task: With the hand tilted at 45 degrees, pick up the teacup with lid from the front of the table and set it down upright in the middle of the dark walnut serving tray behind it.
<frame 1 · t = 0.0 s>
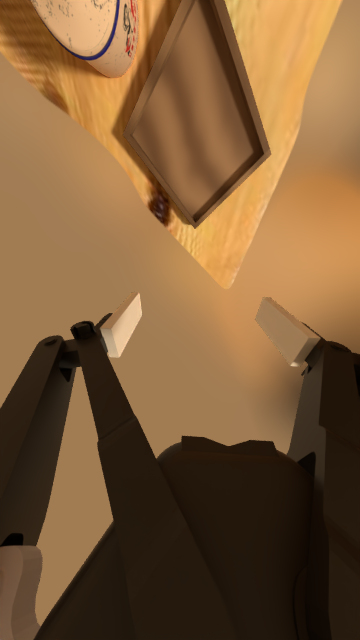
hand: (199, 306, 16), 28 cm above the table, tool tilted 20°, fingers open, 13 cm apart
walnut tray: (197, 144, 24), on the table
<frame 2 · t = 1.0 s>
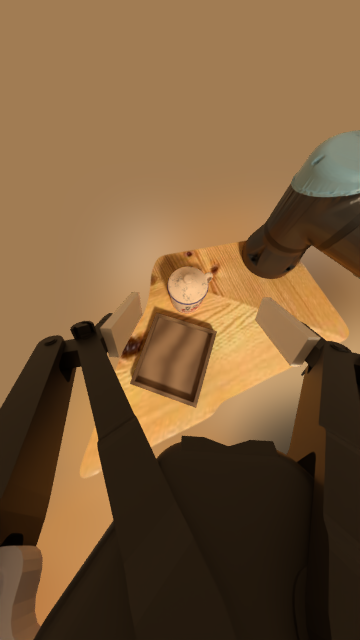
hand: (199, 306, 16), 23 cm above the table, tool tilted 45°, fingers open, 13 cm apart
teacup with lid: (190, 296, 40), on the table
walnut tray: (175, 356, 37), on the table
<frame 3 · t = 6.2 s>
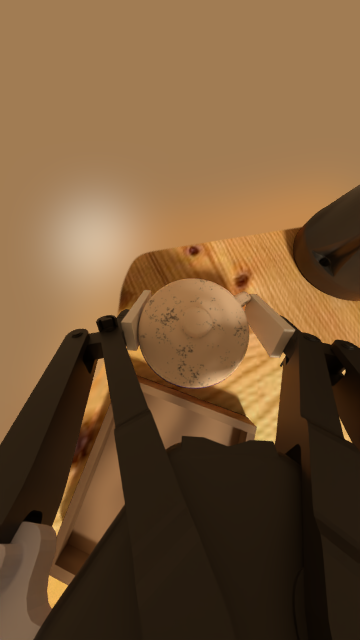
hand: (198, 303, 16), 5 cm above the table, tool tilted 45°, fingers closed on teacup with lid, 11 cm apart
teacup with lid: (196, 333, 20), on the table, touching gripper
walnut tray: (161, 472, 17), on the table
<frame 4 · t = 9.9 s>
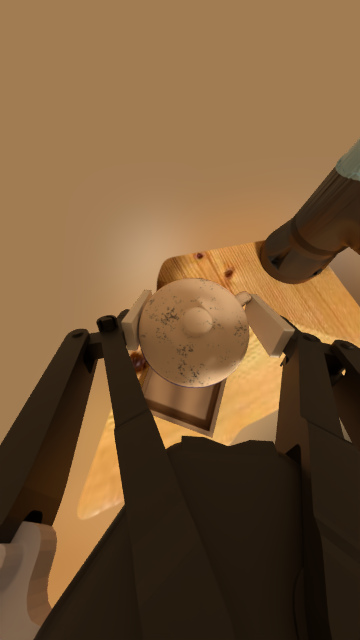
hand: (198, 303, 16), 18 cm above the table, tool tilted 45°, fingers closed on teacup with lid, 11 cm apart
teacup with lid: (196, 333, 20), point 13 cm above the table, touching gripper
walnut tray: (186, 374, 32), on the table
when the fingers open (7 cm above the table, at t = 13.5 s): teacup with lid drops 1 cm, resting on walnut tray.
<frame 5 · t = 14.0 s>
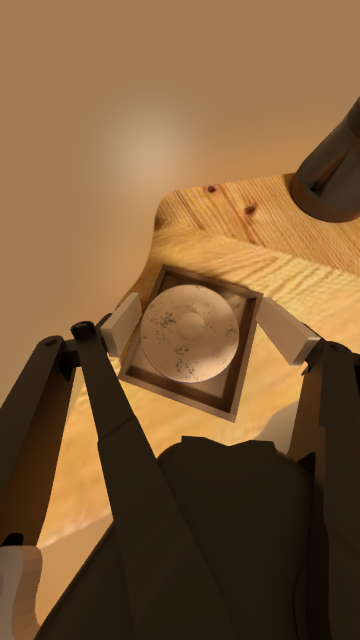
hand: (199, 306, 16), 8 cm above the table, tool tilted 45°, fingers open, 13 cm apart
teacup with lid: (194, 333, 22), point 1 cm above the table, touching walnut tray
walnut tray: (193, 335, 22), on the table
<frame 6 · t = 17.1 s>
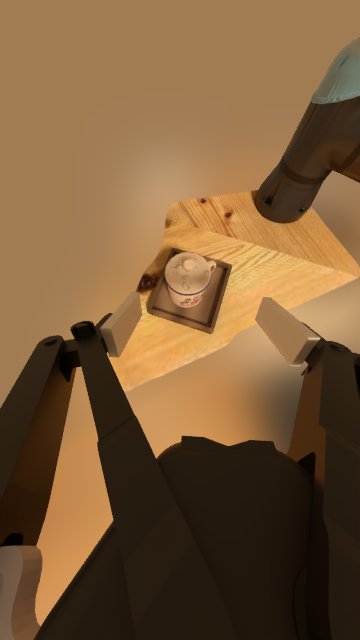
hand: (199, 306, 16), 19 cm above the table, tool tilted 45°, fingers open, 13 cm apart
teacup with lid: (191, 289, 36), point 1 cm above the table, touching walnut tray
walnut tray: (190, 291, 37), on the table
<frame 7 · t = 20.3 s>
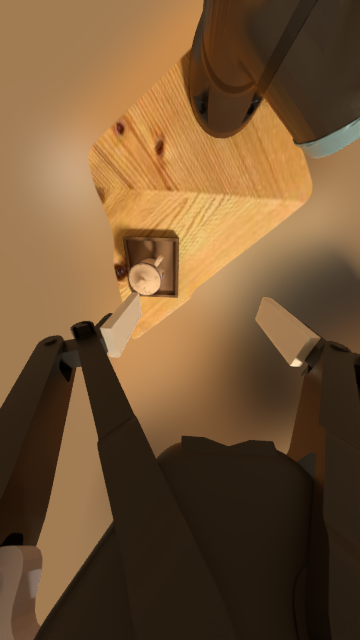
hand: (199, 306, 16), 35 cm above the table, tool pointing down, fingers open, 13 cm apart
teacup with lid: (154, 268, 46), point 1 cm above the table, touching walnut tray
walnut tray: (154, 268, 47), on the table
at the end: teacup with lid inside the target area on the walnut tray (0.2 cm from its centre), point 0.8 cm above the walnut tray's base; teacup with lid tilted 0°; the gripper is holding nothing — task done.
